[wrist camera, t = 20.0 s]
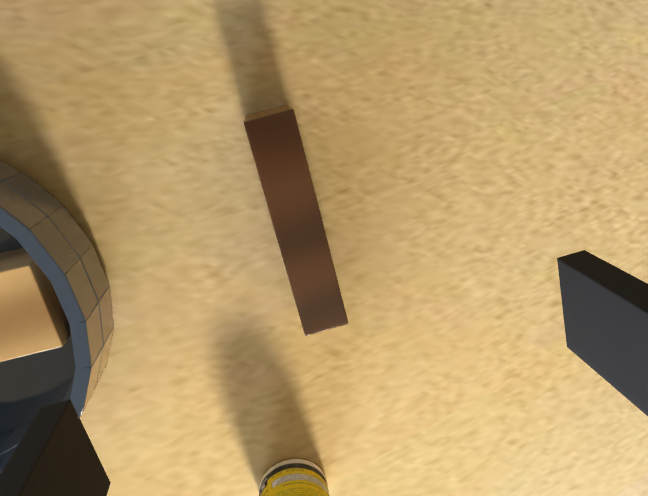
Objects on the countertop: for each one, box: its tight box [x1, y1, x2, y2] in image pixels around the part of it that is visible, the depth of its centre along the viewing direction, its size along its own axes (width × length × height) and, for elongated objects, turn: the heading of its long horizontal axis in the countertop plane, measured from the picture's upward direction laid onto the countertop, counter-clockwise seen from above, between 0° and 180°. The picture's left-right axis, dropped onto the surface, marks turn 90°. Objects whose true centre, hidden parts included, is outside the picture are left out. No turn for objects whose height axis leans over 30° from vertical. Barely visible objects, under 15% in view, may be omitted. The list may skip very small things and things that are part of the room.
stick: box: [244, 105, 348, 336], centre depth 30 cm, size 12×2×4 cm, turn 14°
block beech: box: [0, 248, 71, 362], centre depth 29 cm, size 4×4×4 cm
